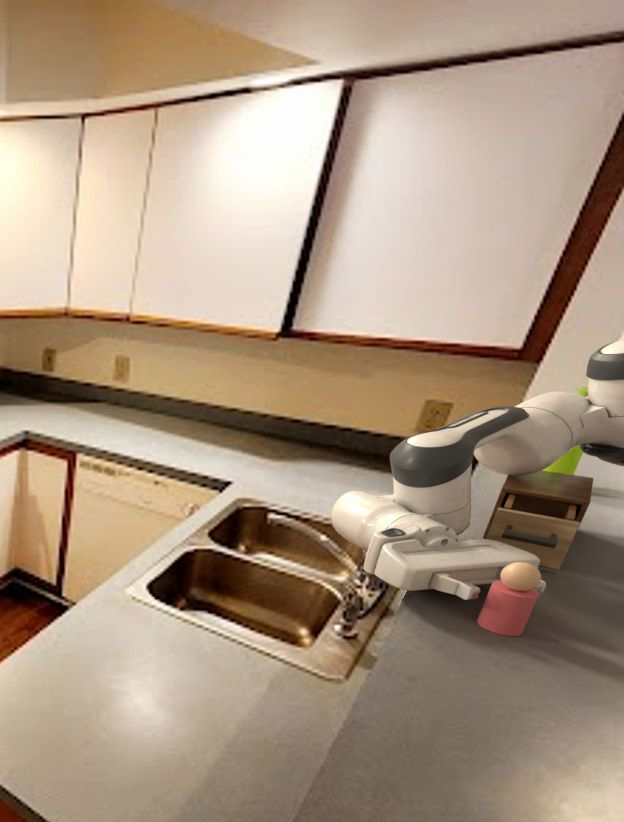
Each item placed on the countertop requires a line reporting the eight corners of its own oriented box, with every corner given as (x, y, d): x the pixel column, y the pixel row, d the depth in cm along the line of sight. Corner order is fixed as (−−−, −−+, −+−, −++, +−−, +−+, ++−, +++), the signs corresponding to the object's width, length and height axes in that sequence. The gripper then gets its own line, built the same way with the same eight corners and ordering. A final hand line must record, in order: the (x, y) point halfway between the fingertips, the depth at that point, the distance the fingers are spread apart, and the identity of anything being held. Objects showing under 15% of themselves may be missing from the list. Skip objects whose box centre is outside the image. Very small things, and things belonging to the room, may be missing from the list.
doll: (517, 622, 85) (544, 559, 81) (526, 639, 82) (555, 575, 77) (473, 614, 87) (498, 553, 83) (480, 631, 84) (506, 567, 80)
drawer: (557, 580, 93) (578, 533, 90) (476, 561, 99) (493, 517, 96) (564, 541, 104) (583, 498, 100) (492, 527, 110) (507, 486, 107)
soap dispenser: (556, 493, 124) (599, 393, 115) (520, 482, 130) (558, 386, 122) (581, 490, 125) (625, 390, 116) (544, 479, 131) (583, 383, 122)
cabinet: (566, 555, 101) (590, 502, 97) (482, 538, 108) (502, 487, 104) (571, 527, 110) (593, 477, 106) (493, 513, 117) (512, 466, 113)
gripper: (476, 560, 97) (569, 605, 85) (353, 571, 96) (429, 618, 84) (490, 523, 95) (588, 564, 82) (364, 534, 94) (444, 577, 81)
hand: (507, 592), depth 83 cm, fingers open, 8 cm apart
